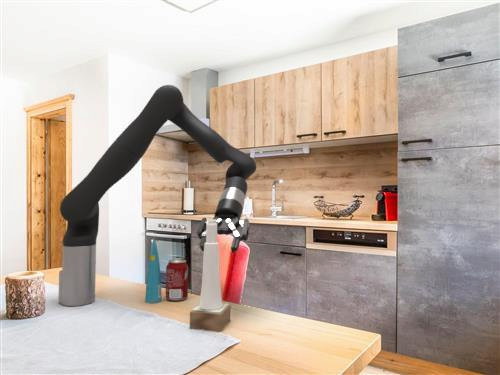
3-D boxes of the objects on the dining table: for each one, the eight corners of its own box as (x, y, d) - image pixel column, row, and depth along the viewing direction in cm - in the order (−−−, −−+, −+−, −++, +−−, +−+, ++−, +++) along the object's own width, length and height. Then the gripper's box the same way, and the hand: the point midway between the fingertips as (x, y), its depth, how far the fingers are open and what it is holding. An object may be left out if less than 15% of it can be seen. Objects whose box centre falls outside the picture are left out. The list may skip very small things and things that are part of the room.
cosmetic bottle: (195, 309, 91) (196, 220, 92) (203, 302, 97) (204, 218, 97) (218, 311, 90) (219, 220, 90) (225, 304, 95) (226, 219, 96)
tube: (143, 298, 116) (145, 237, 116) (159, 297, 117) (160, 236, 118) (147, 305, 109) (148, 240, 109) (163, 303, 111) (164, 239, 111)
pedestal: (189, 328, 90) (189, 310, 90) (201, 318, 98) (201, 301, 98) (220, 331, 88) (221, 313, 88) (230, 320, 96) (230, 303, 96)
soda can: (182, 302, 112) (183, 263, 112) (162, 301, 113) (162, 262, 113) (190, 296, 118) (191, 259, 118) (171, 295, 119) (171, 258, 120)
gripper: (204, 197, 108) (188, 240, 97) (251, 197, 105) (240, 242, 93) (211, 214, 113) (196, 257, 102) (255, 215, 110) (246, 259, 98)
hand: (217, 250), depth 98 cm, fingers open, 8 cm apart
